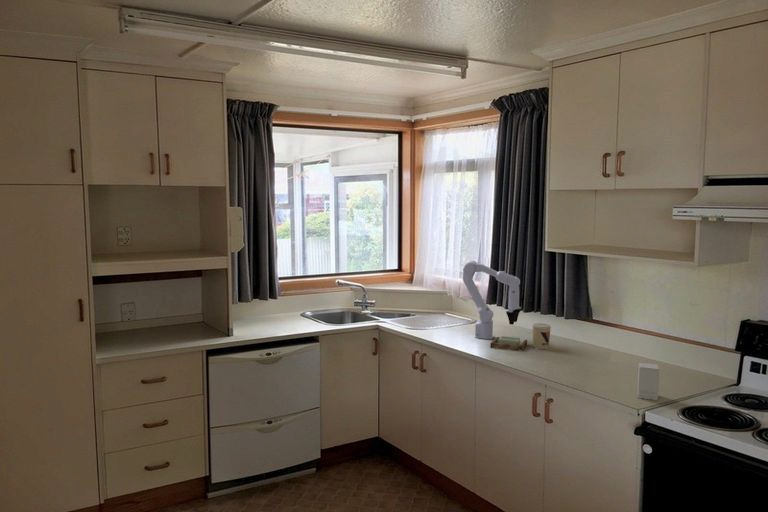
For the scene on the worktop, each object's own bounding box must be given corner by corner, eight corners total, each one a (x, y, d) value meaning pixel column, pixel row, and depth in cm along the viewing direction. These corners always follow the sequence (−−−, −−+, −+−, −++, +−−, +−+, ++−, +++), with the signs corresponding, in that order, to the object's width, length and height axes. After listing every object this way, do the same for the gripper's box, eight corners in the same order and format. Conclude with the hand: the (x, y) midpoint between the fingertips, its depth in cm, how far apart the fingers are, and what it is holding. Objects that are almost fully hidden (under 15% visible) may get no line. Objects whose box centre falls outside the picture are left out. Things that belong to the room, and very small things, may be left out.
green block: (497, 347, 320) (497, 339, 320) (501, 343, 328) (501, 335, 327) (516, 349, 316) (516, 340, 316) (519, 345, 324) (519, 337, 323)
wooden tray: (490, 347, 319) (490, 342, 319) (497, 341, 333) (497, 336, 333) (521, 350, 313) (521, 346, 312) (527, 344, 327) (527, 339, 326)
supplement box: (658, 400, 237) (659, 369, 236) (637, 398, 240) (639, 367, 239) (657, 394, 244) (658, 364, 243) (637, 392, 247) (638, 362, 246)
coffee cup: (542, 350, 314) (543, 327, 312) (528, 347, 321) (528, 324, 320) (553, 347, 320) (554, 325, 318) (538, 344, 327) (539, 322, 326)
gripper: (518, 301, 327) (517, 326, 328) (523, 297, 340) (523, 321, 341) (505, 300, 330) (504, 324, 331) (511, 296, 343) (510, 320, 344)
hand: (513, 323), depth 336 cm, fingers open, 7 cm apart
